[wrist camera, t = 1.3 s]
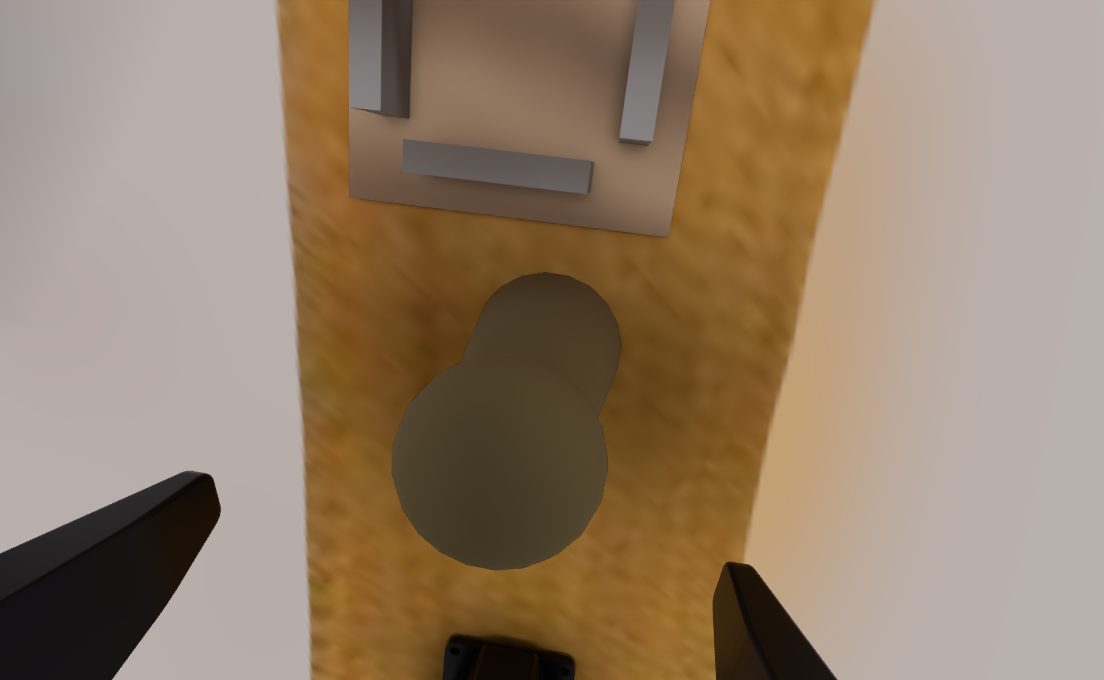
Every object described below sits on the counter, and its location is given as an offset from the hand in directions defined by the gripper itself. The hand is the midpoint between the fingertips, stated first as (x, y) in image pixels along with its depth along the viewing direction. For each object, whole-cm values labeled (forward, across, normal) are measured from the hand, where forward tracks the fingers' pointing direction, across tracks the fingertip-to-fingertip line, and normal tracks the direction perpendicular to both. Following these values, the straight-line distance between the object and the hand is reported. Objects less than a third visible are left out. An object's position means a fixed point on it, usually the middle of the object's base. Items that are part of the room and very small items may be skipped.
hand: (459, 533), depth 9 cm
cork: (+13, 0, +3) cm, 13 cm away
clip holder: (+15, +2, -8) cm, 17 cm away
